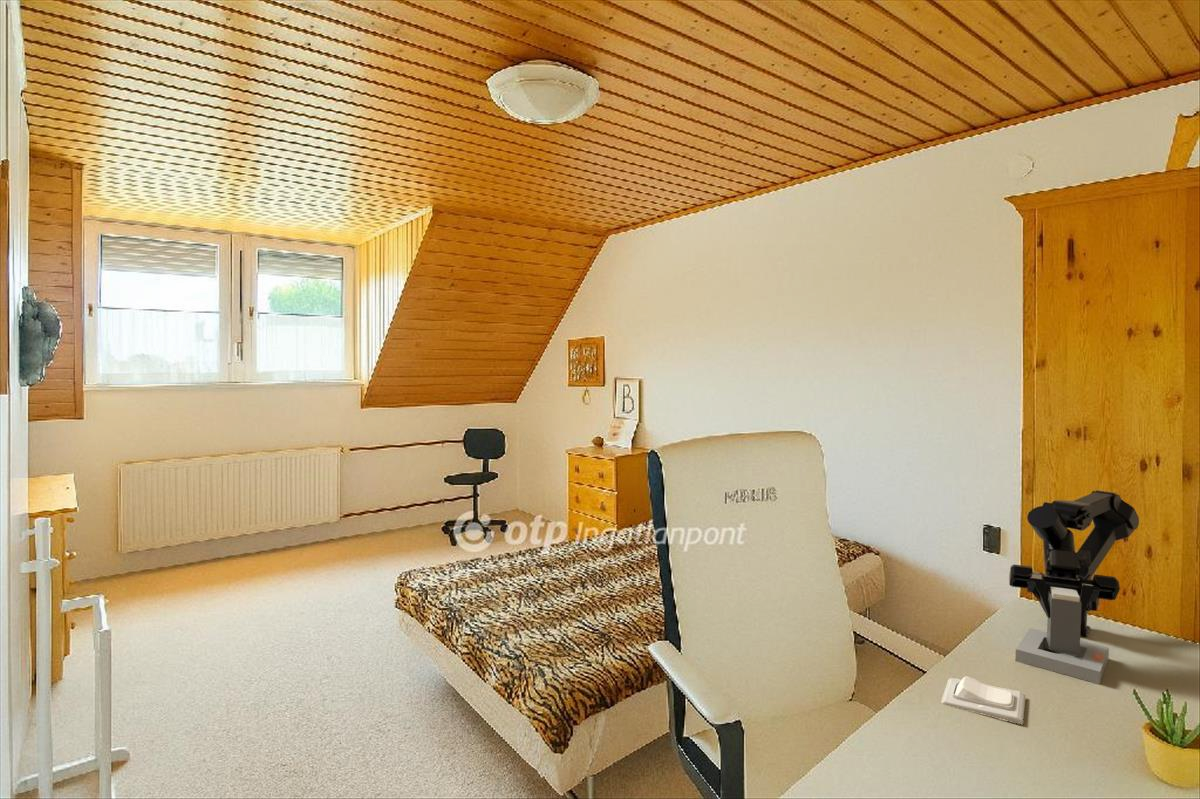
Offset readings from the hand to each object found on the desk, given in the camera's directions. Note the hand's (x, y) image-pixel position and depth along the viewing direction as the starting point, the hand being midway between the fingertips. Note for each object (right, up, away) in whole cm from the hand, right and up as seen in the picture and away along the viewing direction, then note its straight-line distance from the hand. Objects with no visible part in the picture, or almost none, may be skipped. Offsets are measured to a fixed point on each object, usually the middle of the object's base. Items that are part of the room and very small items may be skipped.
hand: (1064, 619), depth 132 cm
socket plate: (+1, -9, +2) cm, 9 cm away
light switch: (-25, -11, -13) cm, 30 cm away
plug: (+1, -6, +2) cm, 7 cm away
